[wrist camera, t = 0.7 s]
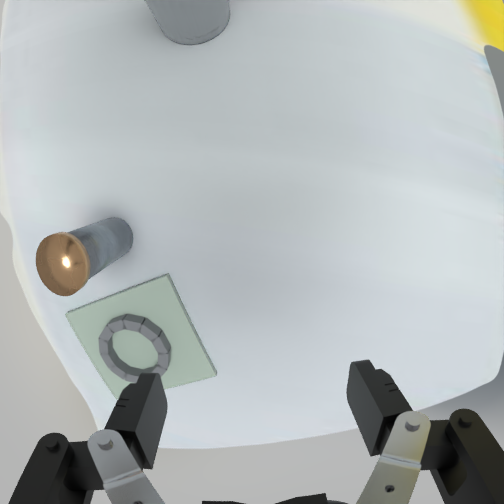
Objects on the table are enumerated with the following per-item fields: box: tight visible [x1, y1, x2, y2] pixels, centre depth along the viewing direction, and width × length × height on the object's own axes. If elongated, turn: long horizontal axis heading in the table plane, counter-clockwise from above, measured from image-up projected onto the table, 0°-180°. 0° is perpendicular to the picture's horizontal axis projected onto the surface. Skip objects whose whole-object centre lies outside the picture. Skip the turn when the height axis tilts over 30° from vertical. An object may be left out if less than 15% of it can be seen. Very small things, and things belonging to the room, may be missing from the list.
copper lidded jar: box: [36, 217, 133, 296], centre depth 31 cm, size 6×6×14 cm
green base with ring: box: [65, 274, 217, 399], centre depth 40 cm, size 16×18×3 cm
